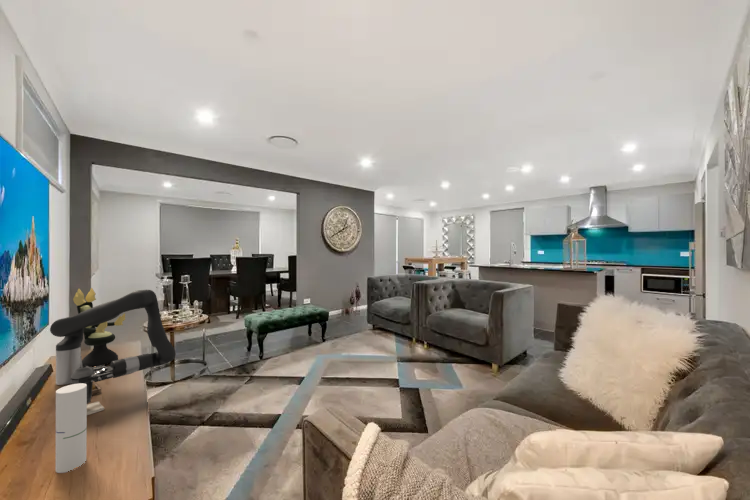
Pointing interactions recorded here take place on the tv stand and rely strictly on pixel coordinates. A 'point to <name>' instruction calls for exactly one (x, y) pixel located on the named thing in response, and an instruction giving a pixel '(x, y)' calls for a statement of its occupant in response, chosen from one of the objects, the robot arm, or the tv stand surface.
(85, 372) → the beverage cup
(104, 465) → the tv stand surface
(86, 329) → the black yellow plant sculpture
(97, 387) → the marble tray
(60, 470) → the cylindrical container
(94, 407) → the ash board
